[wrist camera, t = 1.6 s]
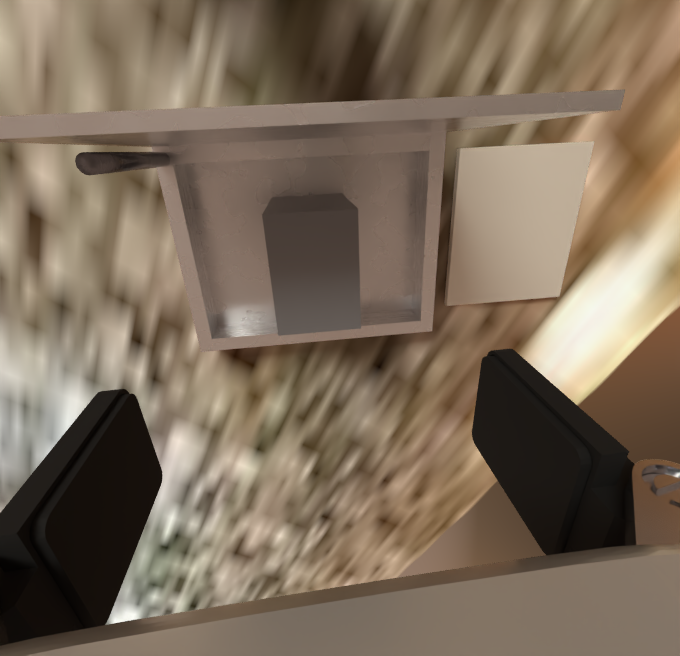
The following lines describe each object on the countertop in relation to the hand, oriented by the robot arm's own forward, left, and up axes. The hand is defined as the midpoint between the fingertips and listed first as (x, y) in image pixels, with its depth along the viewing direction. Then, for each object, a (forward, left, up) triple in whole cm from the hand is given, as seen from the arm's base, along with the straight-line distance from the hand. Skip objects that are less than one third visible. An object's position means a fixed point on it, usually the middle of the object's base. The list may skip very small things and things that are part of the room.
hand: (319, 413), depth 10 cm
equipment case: (0, 0, -20) cm, 20 cm away
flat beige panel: (-16, 0, -20) cm, 26 cm away
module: (0, 0, -20) cm, 20 cm away
